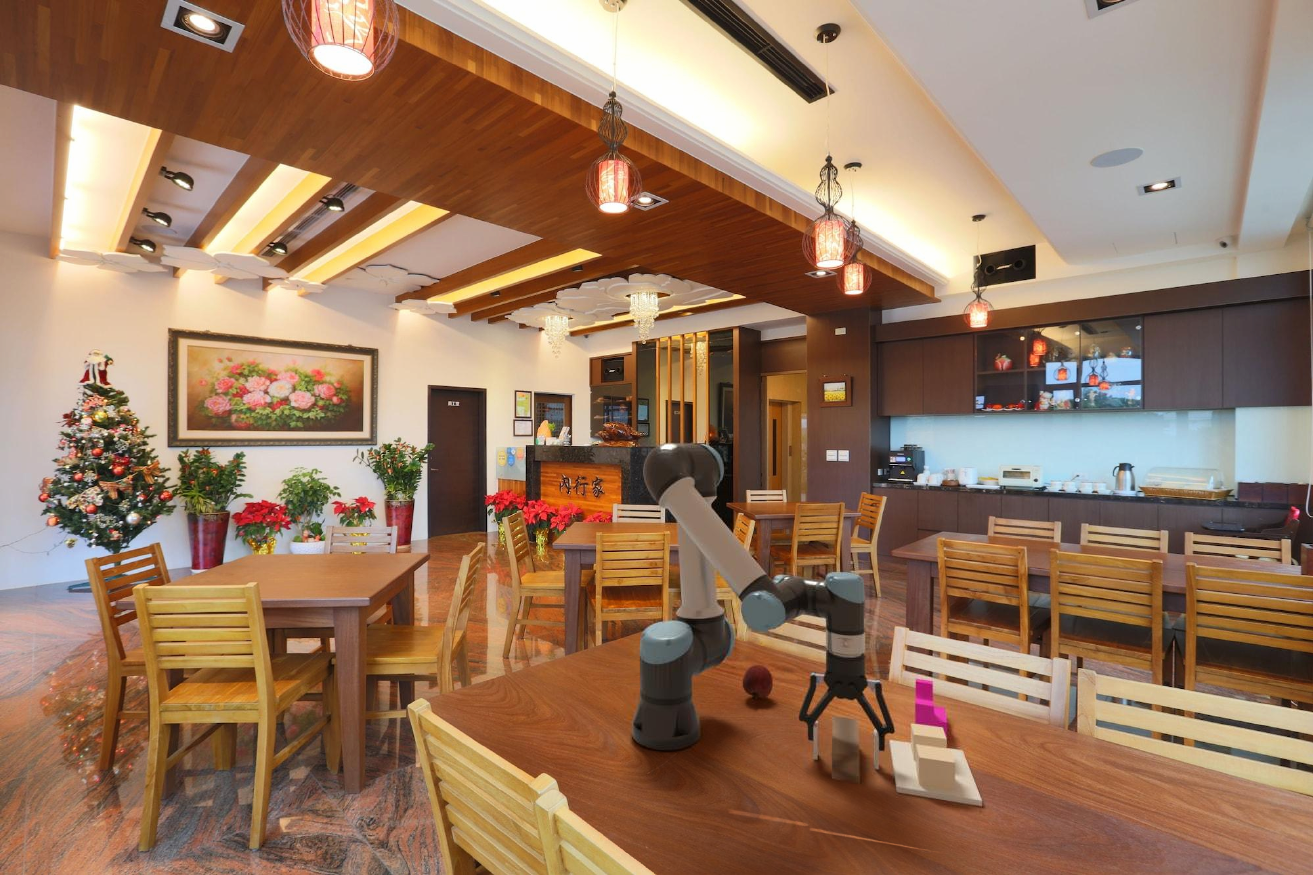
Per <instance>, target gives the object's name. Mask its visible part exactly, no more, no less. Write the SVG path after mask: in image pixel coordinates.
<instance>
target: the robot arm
mask: <svg viewBox="0 0 1313 875" xmlns="http://www.w3.org/2000/svg"><path fill="white" fill-rule="evenodd" d="M642 472H643V479H644V483H645V486H646V488H647V490H648V492H649V493H650V495H651V497H652V498H653V500H654V501H655V502H656V504H658V506H659V507H660V508H661V509H665V510H666V509H668V511H669V512H670V514H671V515H672V516H673V518H675V520H676V528H677V529H676V530H677V544H678V545H677V546H678V561H679V563H678V564H679V575H680V576H679V579H680V592H681V594H680V595H681V605H680V606H679V608H678V609H677V611H676V612H675V614H676V616H675V618H676V620H665V621H659V622H655V623H652V624H651V625H648V626H647V627H646V628H645V629H644V630H643V632H642V633H641V636H640V642H639V643H640V645H639V648H638V649H639V650H638V651H639V652H638V653H639V700H638V702H637V703H638V704H637V706H636V710H635V712H634V716H633V719H632V723H631V734H632V738H633V739H634V740H635V742H637V743H638V744H639V745H640V746H641V745H642V746H643V747H646V748H648V749H651V750H658V751H659V750H660V751H676V750H681V749H685V748H688V747H690V746H692V745H694V744H695V743H697V741H698V740H699V739H700V736H701V724H700V719H699V716H698V713H697V709H696V707H695V702H694V700H693V678H694V677H696V676H699V675H700V674H702V673H704V672H706V671H708V670H710V669H712V668H716V667H718V666H720V665H721V664H722V663H723V662H724V661H726V660H727V659H728V658H729V657H730V656H731V654H732V652H733V651H734V647H735V644H736V643H735V640H736V637H735V636H736V635H735V631H734V628H733V625H732V624H731V623H729V619H728V618H727V617H726V616H725V609H724V608H723V607H722V606H721V605H719V603H718V593H717V580H716V579H717V577H716V571H717V573H718V574H719V576H721V578H722V579H723V580H724V582H725V583H726V584H727V586H728V587H730V589H731V590H732V592H733V593H734V595H735V596H736V597H737V598H738V599H739V601H740V602H741V604H740V613H741V616H742V621H743V622H744V624H746V626H747V627H749V628H750V629H751V630H753V631H755V632H759V633H764V632H765V633H766V632H768V631H771V630H775V629H777V628H780V627H781V626H783V625H784V624H785V623H787V622H790V621H792V620H794V619H796V618H799V617H800V616H809V617H815V618H820V619H825V647H826V649H827V650H826V651H825V672H824V673H823V674H821V673H817V672H816V671H811V672H810V677H809V686H808V689H807V692H806V694H805V697H804V699H803V701H802V704H801V708H800V710H799V714H798V720H799V721H800V722H803V723H805V724H806V725H807V739H808V741H811V742H813V760H816V761H817V760H818V757H819V756H818V755H819V722H818V719H819V718H820V716H821V715H822V714H823V713H824V711H825V710H826V708H827V707H828V705H829V704H830V703H831V702H832V701H833V700H834V698H835V697H836V699H838V700H844V699H846V700H848V701H853V702H854V700H856V701H857V703H858V704H859V705H860V707H861V708H862V709H863V711H864V712H865V715H866V716H867V718H868V719H869V721H870V723H871V724H872V725H873V727H874V729H873V765H874V770H880V761H879V760H880V755H879V754H880V751H881V752H884V751H885V749H886V737H885V736H886V735H888V734H891V735H892V734H895V732H896V731H895V724H894V722H893V719H892V717H891V713H890V711H889V707H888V706H887V702H886V701H885V698H884V694H883V685H882V680H881V679H880V678H875V680H874V679H868V678H867V677H866V654H864V653H865V651H866V628H865V626H866V625H865V622H866V621H865V620H866V619H865V617H866V614H865V613H866V611H865V610H866V596H865V595H866V594H865V593H866V592H865V581H864V579H863V577H862V576H861V575H859V574H856V573H852V572H846V571H845V572H843V571H832V572H829V573H827V574H826V575H825V580H820V579H814V578H807V577H803V576H802V577H801V576H796V575H794V574H788V575H787V574H777V575H775V576H774V577H773V579H772V578H771V577H770V576H769V575H768V574H767V573H766V572H765V570H764V569H763V568H762V567H761V565H760V564H759V563H758V562H757V561H756V560H755V559H754V557H753V556H752V554H750V553H749V551H748V550H747V548H745V546H744V545H743V543H741V541H740V539H738V538H737V536H736V535H735V534H734V533H733V532H732V530H731V529H730V528H729V527H728V526H727V524H725V522H723V521H724V520H722V518H721V517H719V515H718V513H716V511H715V510H714V509H713V508H712V503H713V502H714V501H715V500H716V499H717V497H718V496H717V495H718V494H717V487H718V486H719V485H720V482H721V481H723V478H724V473H725V467H724V462H723V459H722V457H721V455H720V453H718V451H717V450H715V448H713V447H712V446H710V445H709V444H703V443H699V442H689V443H687V442H685V443H684V442H681V443H680V442H676V443H675V442H667V443H662V444H659V445H657V446H655V447H654V448H653V449H651V451H649V452H648V454H647V456H646V457H645V460H644V463H643V469H642ZM822 682H824V683H825V685H826V687H827V689H826V690H825V691H826V692H825V693H824V694H823V695H822V697H821V698H820V700H819V701H818V702H817V704H816V705H815V707H814V708H813V709H812V711H811V712H810V713H809V712H808V711H809V709H810V706H811V705H812V704H811V703H812V701H813V698H814V696H815V693H816V690H817V686H818V687H819V686H821V683H822ZM867 687H869V688H870V690H871V692H872V693H875V698H876V701H877V704H878V706H879V709H880V712H881V715H882V717H883V721H884V723H882V721H881V719H880V718H879V716H878V715H877V712H875V710H874V709H873V707H872V706H871V704H870V702H869V701H868V699H867V698H866V695H865V693H864V691H865V690H866V688H867Z"/></svg>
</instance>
